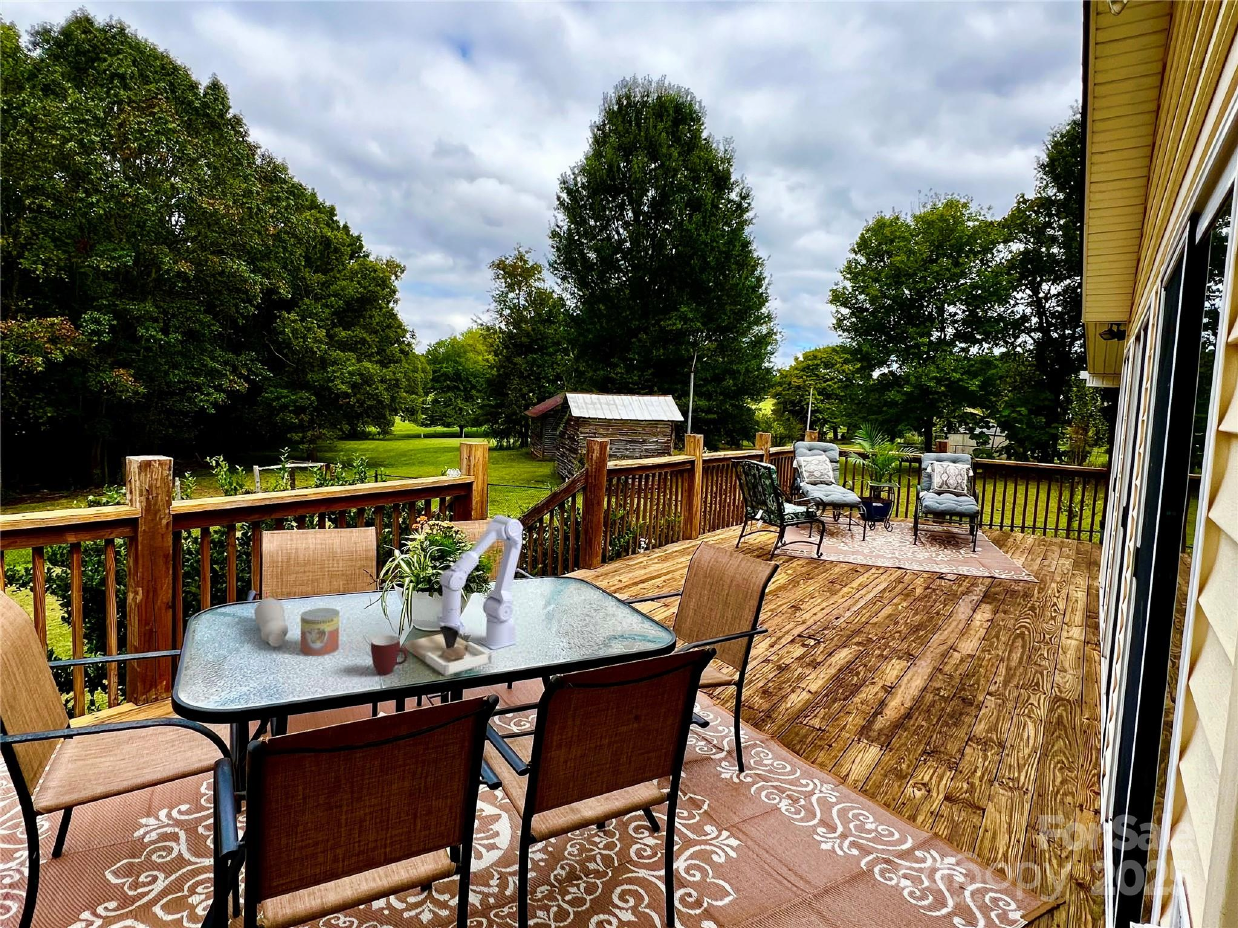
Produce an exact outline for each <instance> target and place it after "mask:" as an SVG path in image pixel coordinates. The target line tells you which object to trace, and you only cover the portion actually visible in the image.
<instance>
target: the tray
mask: <svg viewBox="0 0 1238 928" xmlns="http://www.w3.org/2000/svg"><path fill="white" fill-rule="evenodd" d="M425 663H426V664H428V665H429V666H430V667H432V668H433V669H435V670H436V671H437V672H439V673H441V674H442V675H443V676H445V677H447V676H451V675H455V674H457V673H460V672H465V671H467V670H472V669H475V668H479V667H482V666H486V665H489V664H492V653H491V652H489V651H487V650H485V649H484V648H482V647H480V646H479V645H477V644H475V643H473V641H472V642H471V641H469V642H467V650H466V656H464V659H461V660H457V661H454V662H448V661H447V660H445V659H444V658H442V657H439V658H438V657H436V656H435V655H433V654H431V653H430V652H428V653H426V662H425Z"/></svg>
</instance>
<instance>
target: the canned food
mask: <svg viewBox="0 0 1238 928" xmlns="http://www.w3.org/2000/svg"><path fill="white" fill-rule="evenodd" d="M339 631H340V610H339V609H335V608H332V607H330V608H329V607H319V608H313V609H308V610H305V611H304V612H302V613H301V614H300V649H299V651H300V652H301V653H302V654H303V656H305V655H306V656H305V657H310V656H317V657H324V656H330V655H332V654H334V653H336V652H337V651H339V648H340V646H339V644H340V643H339V642H340V641H339V638H340V636H339V635H340V632H339ZM300 652H299V653H300ZM301 653H300V654H301ZM331 653H332V654H331ZM302 654H301V655H302Z"/></svg>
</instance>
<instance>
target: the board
mask: <svg viewBox="0 0 1238 928" xmlns="http://www.w3.org/2000/svg"><path fill="white" fill-rule="evenodd" d="M404 643H405V644H404V649H405V650H406V651H409V652H410V653H411V654H413V655H415V656H416V657H417V658H418V659H420V660H421V661H423V662H425V663H426V653H428V652H430V653H431V654H433V655H435V656H436V657H438V658H439V657H442V653H444V649H447V648H446V645H445V640H444V637H443V634H442V633H441V634H436V635H431V636H427V637H422V638H418V639H413V640H410V641H406V642H404ZM467 643H468V642H466V641H465V640H463V639H461V638H460V637H457V639H456V643H455V646H454V647H456V646H459V647H461V648H462V649H464V650H467Z"/></svg>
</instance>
